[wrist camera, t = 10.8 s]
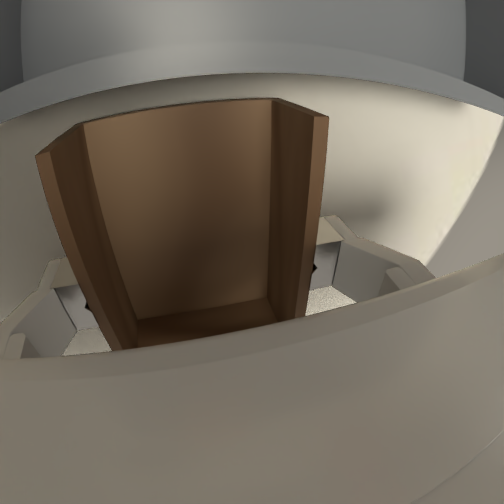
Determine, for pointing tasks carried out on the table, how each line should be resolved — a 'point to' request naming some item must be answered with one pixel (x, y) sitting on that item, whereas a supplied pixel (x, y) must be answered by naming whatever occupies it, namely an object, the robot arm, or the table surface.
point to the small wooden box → (190, 216)
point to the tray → (248, 45)
